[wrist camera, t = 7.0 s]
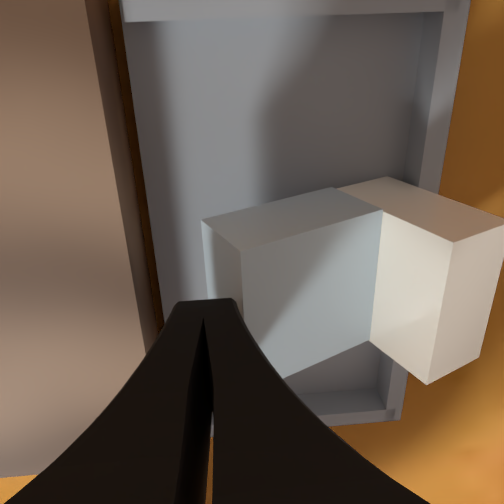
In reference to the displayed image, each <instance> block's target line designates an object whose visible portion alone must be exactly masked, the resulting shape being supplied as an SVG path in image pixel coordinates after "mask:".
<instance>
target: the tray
mask: <svg viewBox="0 0 504 504" xmlns="http://www.w3.org/2000/svg"><path fill="white" fill-rule="evenodd" d="M470 3H471V0H119V7H120V14H121V21H122V28H123V35H124V42H125V49H126V56H127V63H128V70H129V77H130V84H131V91H132V98H133V105H134V112H135V119H136V126H137V133H138V140H139V147H140V154H141V161H142V168H143V175H144V182H145V189H146V196H147V203H148V210H149V217H150V224H151V231H152V238H153V245H154V252H155V259H156V266H157V273H158V280H159V287H160V294H161V301H162V308H163V315H164V322H165V323H166V321H167V319H168V317H169V315H170V313H171V311H172V309H173V307H174V305H175V304H176V303H177V302H178V301H191V300H205V299H208V294H207V283H206V272H205V261H204V251H203V240H202V229H201V219H205V218H209V217H213V216H217V215H221V214H225V213H229V212H233V211H237V210H241V209H245V208H249V207H253V206H257V205H261V204H265V203H269V202H273V201H277V200H281V199H285V198H289V197H293V196H297V195H301V194H305V193H309V192H313V191H317V190H321V189H325V188H329V187H333V188H335V189H337V188H341V187H345V186H349V185H353V184H357V183H361V182H365V181H369V180H373V179H377V178H381V177H385V176H388V177H391V178H394V179H397V180H400V181H402V182H405V183H408V184H411V185H413V186H416V187H419V188H422V189H424V190H427V191H430V192H433V193H435V194H438V193H439V187H440V181H441V175H442V169H443V163H444V157H445V151H446V145H447V139H448V133H449V128H450V122H451V116H452V110H453V104H454V98H455V92H456V86H457V80H458V74H459V68H460V62H461V56H462V50H463V44H464V38H465V32H466V26H467V20H468V14H469V8H470ZM408 372H409V371H407V370H406V369H405V368H404V367H402V366H401V365H400V364H398V363H397V362H396V361H395V360H393V359H392V358H391V357H389V356H388V355H387V354H385V353H384V352H383V351H382V350H380V349H379V348H378V347H376V346H375V345H374V344H373V343H371V342H370V341H369V340H368V341H365V342H363V343H361V344H359V345H357V346H354V347H352V348H350V349H348V350H345V351H343V352H341V353H339V354H336V355H334V356H332V357H330V358H328V359H325V360H323V361H321V362H319V363H316V364H314V365H312V366H310V367H307V368H305V369H303V370H301V371H299V372H296V373H294V374H292V375H290V376H287V377H285V378H283V380H284V381H285V382H286V383H287V385H288V386H289V387H290V388H291V389H292V390H293V392H294V393H295V394H296V395H297V396H298V397H299V398H300V399H301V400H302V401H303V402H304V404H305V405H306V406H307V407H308V408H309V409H310V410H311V411H312V412H313V413H314V414H315V415H316V416H317V417H318V418H319V419H320V420H321V421H322V422H323V423H324V424H325V425H327V426H328V427H329V426H340V425H352V424H363V423H374V422H385V421H396V420H400V419H401V413H402V407H403V401H404V395H405V389H406V383H407V378H408ZM213 435H214V420H213V412H212V422H211V436H210V437H213Z"/></svg>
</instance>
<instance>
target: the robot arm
mask: <svg viewBox="0 0 504 504" xmlns="http://www.w3.org/2000/svg"><path fill="white" fill-rule="evenodd" d="M212 412H213V420H214V435H213V494H212V504H430V503H428V502H427V501H425V500H424V499H422V498H421V497H419V496H418V495H416V494H415V493H413V492H412V491H410V490H409V489H407V488H405V487H404V486H402V485H401V484H399V483H398V482H396V481H395V480H393V479H392V478H390V477H389V476H388V475H386V474H385V473H384V472H382V471H381V470H380V469H378V468H377V467H376V466H374V465H373V464H372V463H370V462H369V461H368V460H366V459H365V458H364V457H363V456H361V455H360V454H359V453H358V452H357V451H356V450H354V449H353V448H352V447H351V446H350V445H349V444H347V443H346V442H345V441H344V440H343V439H342V438H340V437H339V436H338V435H337V434H336V433H335V432H333V431H332V430H331V429H330V428H329V427H328V426H327V425H325V424H324V423H323V422H322V421H321V420H320V419H319V418H318V417H317V416H316V415H315V414H314V413H313V412H312V411H311V410H310V409H309V408H308V407H307V406H306V405H305V404H304V402H303V401H302V400H301V399H300V398H299V397H298V396H297V395H296V394H295V393H294V392H293V390H292V389H291V388H290V387H289V386H288V385H287V383H286V382H285V381H284V380H283V379H282V377H281V376H280V375H279V373H278V372H277V371H276V370H275V368H274V367H273V366H272V364H271V363H270V362H269V360H268V359H267V357H266V356H265V355H264V353H263V352H262V350H261V349H260V347H259V346H258V344H257V342H256V341H255V339H254V338H253V336H252V335H251V333H250V331H249V329H248V328H247V326H246V324H245V322H244V320H243V318H242V316H241V314H240V312H239V309H238V306H237V303H236V301H235V300H234V299H232V298H219V299H205V300H191V301H178V302H177V303H176V304H175V305H174V307H173V309H172V311H171V313H170V315H169V317H168V319H167V321H166V323H165V324H164V326H163V328H162V330H161V331H160V333H159V335H158V337H157V338H156V340H155V341H154V343H153V345H152V346H151V348H150V349H149V351H148V352H147V354H146V355H145V357H144V359H143V360H142V361H141V363H140V364H139V366H138V367H137V368H136V370H135V371H134V372H133V374H132V375H131V376H130V378H129V379H128V381H127V382H126V383H125V385H124V386H123V387H122V389H121V390H120V391H119V392H118V394H117V395H116V396H115V397H114V399H113V400H112V401H111V402H110V403H109V404H108V406H107V407H106V408H105V409H104V410H103V411H102V413H101V414H100V415H99V416H98V417H97V418H96V419H95V420H94V421H93V423H92V424H91V425H90V426H89V427H88V428H87V429H86V430H85V431H84V432H83V433H82V434H81V435H80V436H79V437H78V438H77V439H76V440H75V441H74V442H73V443H72V444H71V445H70V446H69V447H68V448H67V449H66V450H65V451H64V452H63V453H62V454H61V455H60V456H59V457H58V458H57V459H56V460H55V461H54V462H52V463H51V464H50V465H49V466H48V467H47V468H46V469H45V470H43V471H42V472H41V473H40V474H39V475H38V476H36V477H35V478H34V479H33V480H32V481H31V482H29V483H28V484H27V485H26V486H25V487H24V488H22V489H21V490H20V491H19V492H18V493H16V494H15V495H14V496H13V497H11V498H10V499H9V500H8V501H7V502H5V503H4V504H205V500H206V487H207V474H208V461H209V448H210V436H211V422H212Z"/></svg>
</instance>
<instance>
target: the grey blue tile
mask: <svg viewBox="0 0 504 504" xmlns="http://www.w3.org/2000/svg"><path fill="white" fill-rule="evenodd" d="M382 214H383V209H381V208H379V207H377V206H374V205H372V204H370V203H367V202H365V201H363V200H360V199H358V198H356V197H354V196H351V195H349V194H347V193H344V192H342V191H340V190H338V189H335V188H333V187H329V188H325V189H321V190H317V191H313V192H309V193H305V194H301V195H297V196H293V197H289V198H285V199H281V200H277V201H273V202H269V203H265V204H261V205H257V206H253V207H249V208H245V209H241V210H237V211H233V212H229V213H225V214H221V215H217V216H213V217H209V218H205V219H201V229H202V240H203V251H204V261H205V272H206V283H207V294H208V299H219V298H232V299H234V300H235V301H236V303H237V306H238V309H239V312H240V314H241V316H242V318H243V320H244V322H245V324H246V326H247V328H248V329H249V331H250V333H251V335H252V336H253V338H254V339H255V341H256V342H257V344H258V346H259V347H260V349H261V350H262V352H263V353H264V355H265V356H266V357H267V359H268V360H269V362H270V363H271V364H272V366H273V367H274V368H275V370H276V371H277V372H278V373H279V375H280V376H281V377H282V379H283V378H285V377H287V376H290V375H292V374H294V373H296V372H299V371H301V370H303V369H305V368H307V367H310V366H312V365H314V364H316V363H319V362H321V361H323V360H325V359H328V358H330V357H332V356H334V355H336V354H339V353H341V352H343V351H345V350H348V349H350V348H352V347H354V346H357V345H359V344H361V343H363V342H365V341H368V340H370V332H371V322H372V312H373V303H374V293H375V283H376V273H377V263H378V254H379V244H380V234H381V224H382Z"/></svg>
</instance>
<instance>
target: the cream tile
mask: <svg viewBox="0 0 504 504" xmlns="http://www.w3.org/2000/svg"><path fill="white" fill-rule="evenodd" d="M337 189H338V190H340V191H342V192H344V193H347V194H349V195H351V196H354V197H356V198H358V199H360V200H363V201H365V202H367V203H370V204H372V205H374V206H377V207H379V208H381V209H383V214H382V224H381V234H380V244H379V254H378V263H377V273H376V283H375V293H374V303H373V312H372V322H371V332H370V340H369V341H370V342H371V343H373V344H374V345H375V346H376V347H378V348H379V349H380V350H382V351H383V352H384V353H385V354H387V355H388V356H389V357H391V358H392V359H393V360H395V361H396V362H397V363H398V364H400V365H401V366H402V367H404V368H405V369H406V370H407V371H409V372H410V373H411V374H413V375H414V376H415V377H416V378H418V379H419V380H420V381H422V382H423V383H424V384H426V385H428V384H430V383H432V382H434V381H436V380H437V379H439V378H441V377H443V376H445V375H447V374H449V373H451V372H452V371H454V370H456V369H458V368H460V367H462V366H464V365H466V364H468V363H469V362H471V361H473V360H475V359H477V358H479V355H480V351H481V347H482V343H483V339H484V335H485V331H486V327H487V323H488V319H489V315H490V311H491V307H492V303H493V299H494V295H495V291H496V287H497V283H498V279H499V275H500V271H501V267H502V263H503V259H504V218H502V217H499V216H496V215H493V214H491V213H488V212H485V211H482V210H480V209H477V208H474V207H471V206H469V205H466V204H463V203H460V202H457V201H455V200H452V199H449V198H446V197H444V196H441V195H438V194H435V193H433V192H430V191H427V190H424V189H422V188H419V187H416V186H413V185H411V184H408V183H405V182H402V181H400V180H397V179H394V178H391V177H388V176H385V177H381V178H377V179H373V180H369V181H365V182H361V183H357V184H353V185H349V186H345V187H341V188H337Z"/></svg>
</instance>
